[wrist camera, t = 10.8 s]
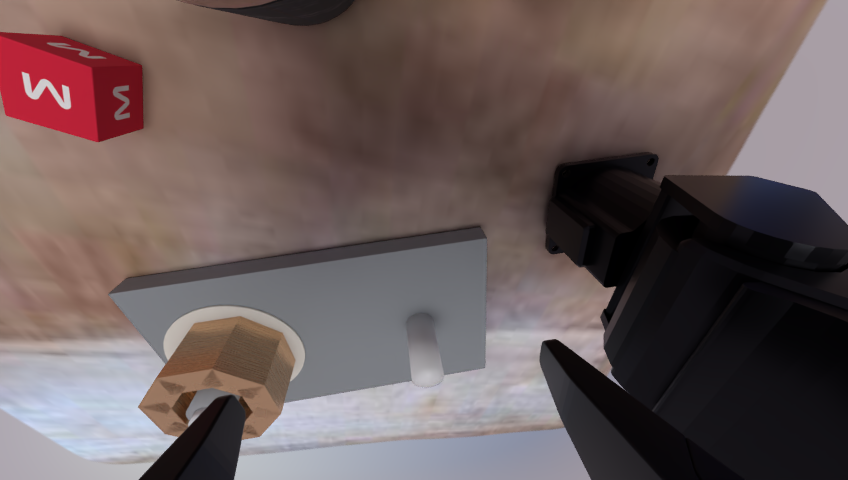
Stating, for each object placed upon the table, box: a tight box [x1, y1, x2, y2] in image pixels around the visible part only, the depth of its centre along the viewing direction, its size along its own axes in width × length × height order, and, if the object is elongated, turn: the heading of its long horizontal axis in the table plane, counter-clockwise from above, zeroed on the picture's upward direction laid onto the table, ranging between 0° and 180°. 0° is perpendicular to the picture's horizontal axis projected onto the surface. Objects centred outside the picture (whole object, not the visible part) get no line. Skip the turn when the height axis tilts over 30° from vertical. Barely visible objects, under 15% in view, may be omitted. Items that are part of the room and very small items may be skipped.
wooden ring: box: [138, 316, 296, 440], centre depth 20 cm, size 7×7×4 cm
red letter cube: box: [0, 32, 143, 142], centre depth 13 cm, size 3×3×3 cm
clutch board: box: [108, 227, 487, 427], centre depth 21 cm, size 23×13×7 cm, turn 95°
